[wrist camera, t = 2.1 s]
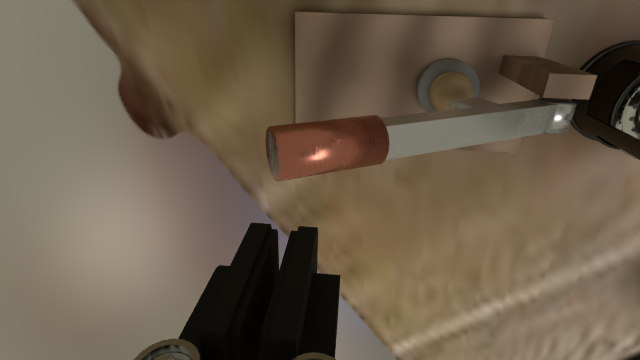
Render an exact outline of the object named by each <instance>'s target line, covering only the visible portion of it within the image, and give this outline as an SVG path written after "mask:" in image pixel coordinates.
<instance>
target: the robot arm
mask: <svg viewBox="0 0 640 360" xmlns="http://www.w3.org/2000/svg"><path fill="white" fill-rule="evenodd" d="M317 252H318V228H317V227H304V226H299V228H298V231H291V233H290V236H289V240H288V243H287V246H286V250H285V253H284V257H283V260H282V264H281V266H280V270H279V253H278V231H277V229H272V228H271V224H263V223H251V224H250V226H249V228H248V230H247V232H246V234H245V236H244V238H243V240H242V243H241V244H240V247H239V249H238V251H237V253H236V255H235V257H234V259H233V261H232V263H231V265H230V266H223V265H220V266H218V267H217V268H216V269H215V271H214V273H213V275H212V277H211V278H210V280H209V282H208V284H207V286H206V288H205V290H204V292H203V293H202V295H201V297H200V299H199V301H198V303H197V305H196V306H195V308H194V310H193V312H192V314H191V316H190V318H189V320H188V321H187V323H186V325H185V327H184V329H183V331H182V333H181V335H180V336H179V338H178V339H168V340H163V341H160V342H157V343H155V344H153V345H151V346H149V347H148V348H146V349H145V350H143V351H142V352H141V353H140V354H139V355H138V356H137V357H136V358H135V359H134V360H336V359H335V348H336V334H337V319H338V305H339V288H340V275H331V274H319V273H317Z"/></svg>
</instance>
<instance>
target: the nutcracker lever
mask: <svg viewBox="0 0 640 360" xmlns="http://www.w3.org/2000/svg"><path fill="white" fill-rule="evenodd" d="M576 105H577V103H576V102H575V101H572V100H568V99H564V98H543V97H539V98H538V100H529V101H521V102H512V103H503V104H498V103H494V102H491V101H488V100H484V99H481V98H478V97H475V98H465V99H455V100H451V103H450V109H449V110H443V111H435V112H426V113H417V114H409V115H400V116H392V117H383V118H380V117H379V116H377V115H368V116H359V117H350V118H341V119H332V120H323V121H314V122H305V123H296V124H288V125H279V126H270V127H268V129H267V132H266V154H267V160H268V164H269V168H270V171H271V173H272V176H273V177H274V179H275V180H276V181H284V180H290V179H296V178H302V177H307V176H313V175H319V174H325V173H331V172H336V171H342V170H348V169H354V168H360V167H366V166H371V165H377V164H381V163H383V162H384V161H385V160H389V159H395V158H401V157H407V156H413V155H419V154H425V153H431V152H437V151H443V150H448V149H454V148H460V147H466V146H472V145H478V144H484V143H490V142H496V141H502V140H508V139H514V138H520V137H526V136H532V135H538V134H544V133H549V132H550V133H566V132H568V129H569V126H570V123H571V120H572V117H573V114H574V111H575V108H576Z"/></svg>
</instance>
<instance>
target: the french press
mask: <svg viewBox="0 0 640 360" xmlns="http://www.w3.org/2000/svg"><path fill="white" fill-rule="evenodd" d="M624 61H626V62H631V63H635V64H639V65H640V41H636V40H634V41H628V42H623V43H620V44H617V45H614V46H611V47H609V48H607V49H605V50H603V51H601V52H600V53H598V54H597V55H596V56H594V57H593V58H591V59H590V60H589V61H588V62H587V63H586V64H585V65H584V66H583V67H582V68H581V69H580V70H582V71H585V72H588V73H591V74H594V75H597V78H596V81H595V84H594V87H593V89H592V92H591V95H590V98H589V100H587V99H568V100H572V101H575V102H576V103H577V105H576V108H575V111H574V114H573V117H572V120H571V124H572V125H573V127H574V128H575V129H576V130H577V131H578V132H579V133H581V134H582V135H583V136H585V137H588V138H590V139H592V140H596V141H598V142H600V143H602V144H604V145H606V146H608V147H610V148H614V149H618V150H622V151H623V152H624V153H625V154H627V155H629V156H631V157H633V158H636V159H639V160H640V73H639V74H638V75H637V76H635V77H634V78H633V79H632V80H631V81H630V82H629V83H628V84H627V85H626V86H625V88H624V89H623V90H622V91H621V92H620V94H619V96H618V97H617V99H616V101H615V102H614V105H613V107H612V110H611V112H610V117H609V124H608V123H606V122H604V121H602V120H600V119H598V118H596V117H594V116H592V115H590V114H589V109H590V103H591V100H592V97H593V95H594V93H595V91H596V89H597V87H598V86H599V84H600V83H601V82H602V81H603V79H604V78H605V77H606V76H607V75H608V74H609V73H610V72H611V71H612V70H613V69H614V68H615V67H617V66H618V65H620V64H621V63H622V62H624Z"/></svg>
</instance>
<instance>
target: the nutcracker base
mask: <svg viewBox="0 0 640 360" xmlns="http://www.w3.org/2000/svg"><path fill="white" fill-rule="evenodd" d="M554 21H555V19H546V18H515V17H481V16H446V15H411V14H377V13H342V12H307V11H297V12H295V115H296V123H305V122H314V121H323V120H332V119H341V118H350V117H359V116H368V115H377V116H379V117H380V118H383V117H392V116H400V115H409V114H417V113H426V112H435V111H443V110H449V109H450V103H451V100H455V99H465V98H475V97H478V98H481V99H484V100H488V101H491V102H494V103H498V104H503V103H512V102H521V101H529V100H533V97H534V94H537V95H539V96H541V97H543V98H565V99H587V100H589V98H590V95H591V92H592V89H593V87H594V84H595V81H596V78H597V75H594V74H591V73H588V72H585V71H582V70H579V69H576V68H573V67H570V66H566V65H563V64H560V63H557V62H554V61H551V60H548V59H545V58H544V57H545V54H546V50H547V47H548V43H549V39H550V36H551V32H552V28H553V25H554ZM522 138H523V137H520V138H514V139H508V140H502V141H496V142H490V143H484V144H478V145H472V146H466V147H460V148H454V149H459V150H477V151H495V152H513V153H518V152H519V148H520V145H521V141H522Z"/></svg>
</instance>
